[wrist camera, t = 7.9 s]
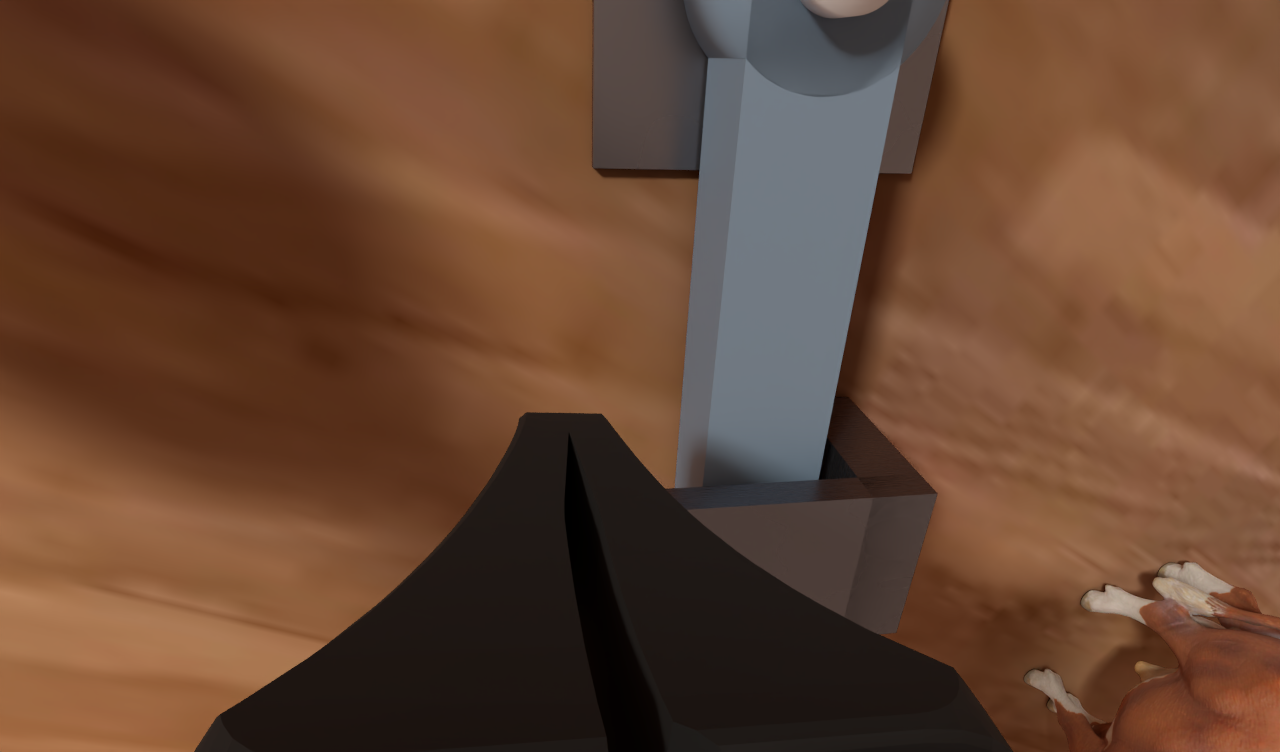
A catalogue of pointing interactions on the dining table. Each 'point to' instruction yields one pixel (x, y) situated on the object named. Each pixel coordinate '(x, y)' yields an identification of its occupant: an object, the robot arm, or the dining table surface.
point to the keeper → (832, 523)
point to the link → (782, 222)
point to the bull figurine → (1186, 673)
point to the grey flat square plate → (700, 89)
